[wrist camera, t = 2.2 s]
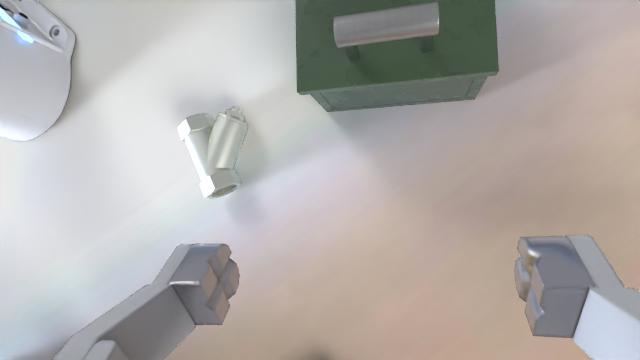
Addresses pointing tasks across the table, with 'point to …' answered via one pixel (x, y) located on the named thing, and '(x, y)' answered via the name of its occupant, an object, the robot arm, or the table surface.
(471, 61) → the lid
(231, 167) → the pipe fitting
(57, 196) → the table surface
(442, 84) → the box
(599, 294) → the robot arm
